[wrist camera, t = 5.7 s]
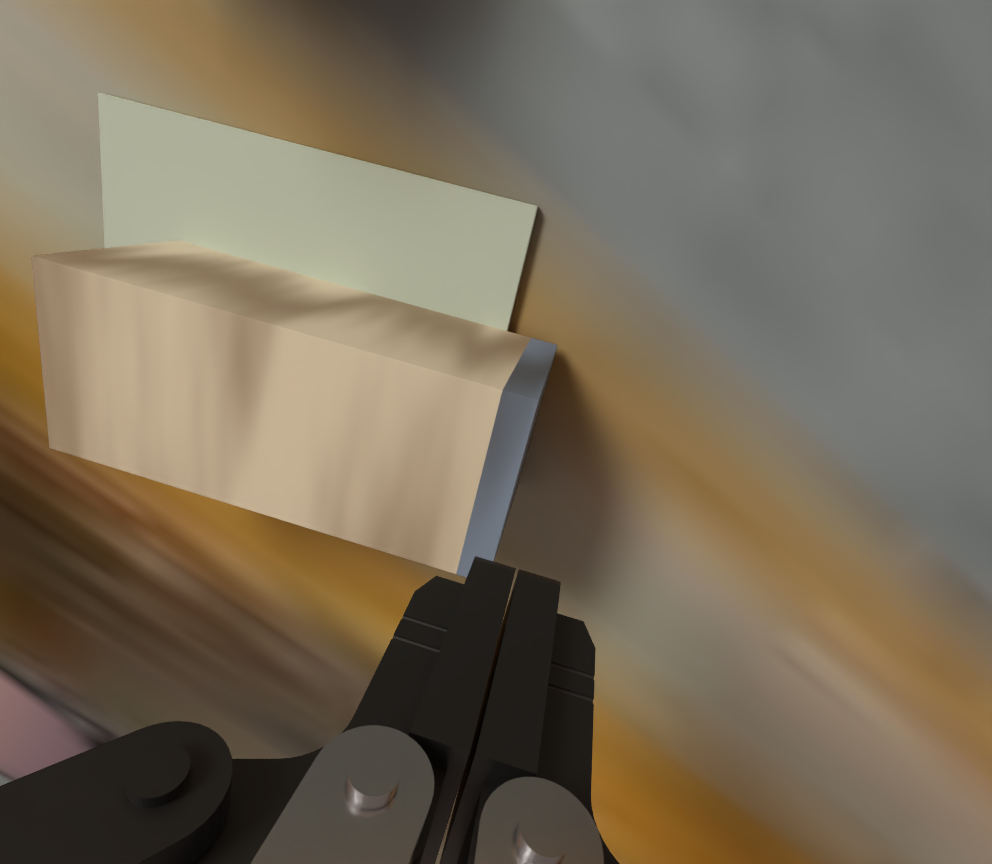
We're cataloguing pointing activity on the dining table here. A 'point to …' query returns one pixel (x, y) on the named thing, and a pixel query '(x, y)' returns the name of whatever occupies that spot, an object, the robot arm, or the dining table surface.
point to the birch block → (290, 395)
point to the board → (310, 212)
